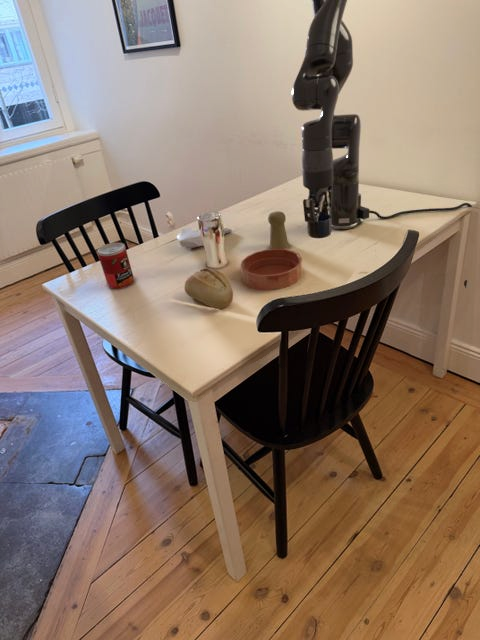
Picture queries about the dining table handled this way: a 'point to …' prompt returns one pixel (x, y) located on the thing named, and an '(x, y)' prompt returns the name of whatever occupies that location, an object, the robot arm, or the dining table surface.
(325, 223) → the bowl
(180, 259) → the dining table surface
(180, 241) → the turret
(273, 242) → the cork
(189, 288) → the bread roll
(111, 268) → the canned food
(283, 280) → the serving bowl
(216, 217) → the beer glass
